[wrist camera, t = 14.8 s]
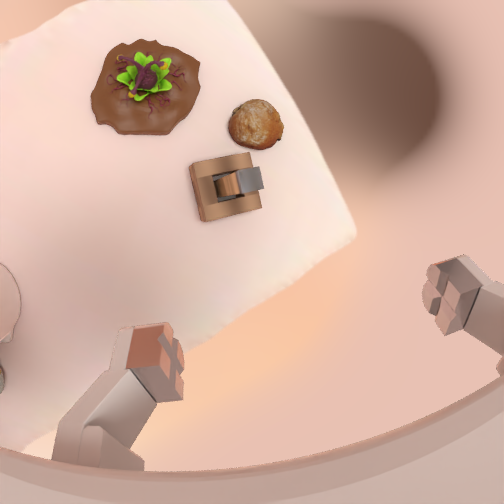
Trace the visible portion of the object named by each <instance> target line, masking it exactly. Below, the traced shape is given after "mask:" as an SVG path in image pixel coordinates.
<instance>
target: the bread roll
mask: <svg viewBox="0 0 504 504" xmlns="http://www.w3.org/2000/svg"><path fill="white" fill-rule="evenodd" d="M233 113H234V114H233V115H232V117H231V119H230V121H229V131H230V134H231V136H232V138H233V139H234V140H235V141H236V142H237V143H238V144H239V145H241V146H244V147H248V148H252V149H258V150H259V149H261V150H264V149H266V148H270V147H272V146H273V145H274V144H275V143H276V141H277V140H278V141H280V140H281V137H282V133H283V129H284V125H283V123H282V122H281V120H280V115H279V113H278V112H277V111H276V109H275V108H274V107H273V106H272V105H271V104H270V103H268V102H267V101H264V100H260V99H252V100H250V101H247V102H245V103H244V104H242V105H241V106H240V107H238V108H236V109H234V111H233Z"/></svg>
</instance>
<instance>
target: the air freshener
mask: <svg viewBox="0 0 504 504" xmlns="http://www.w3.org/2000/svg"><path fill="white" fill-rule="evenodd" d="M3 388H4V377H3V373H2V370H1V368H0V394H1V392H2V391H3Z"/></svg>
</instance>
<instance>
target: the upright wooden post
mask: <svg viewBox="0 0 504 504" xmlns="http://www.w3.org/2000/svg"><path fill="white" fill-rule="evenodd" d="M213 182H214V187H215V191H216V196H217V198H218V197H224V196H229V195H234V194H242V193H247V192H251V191H256V190H260V189H264V186H263V181H262V177H261V172H260V168H259V167H254V168H249V169H244V170H238V171H236V172H234V173H232V174H230V175H227V176H225V177H223V178H220V179H218V180H216V181H213Z"/></svg>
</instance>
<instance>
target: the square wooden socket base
mask: <svg viewBox="0 0 504 504" xmlns="http://www.w3.org/2000/svg"><path fill="white" fill-rule="evenodd" d="M249 168H253V165H252V160H251V156H250V152H247V153H242V154H236V155H231V156H225V157H220V158H215V159H210V160H205V161H201V162H196V163H193V164H192V165H191V166H190V167H189V170H190V175H191V179H192V184H193V188H194V192H195V197H196V201H197V205H198V209H199V214H200V218H201V221H204V222H209V221H213V220H216V219H220V218H224V217H228V216H232V215H236V214H240V213H244V212H248V211H252V210H256V209H260V208H262V205H261V201H260V196H259V191H258V190H256V191H251V192H247V193H242V194H236V198H233V199H229V200H225V201H221V202H218V200H217V196H216V191H215V187H214V182H213V178H212V177H213V176H218V175H222V174H227V173H231V174H232V173H234V172H236V171H238V170H244V169H249Z"/></svg>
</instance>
